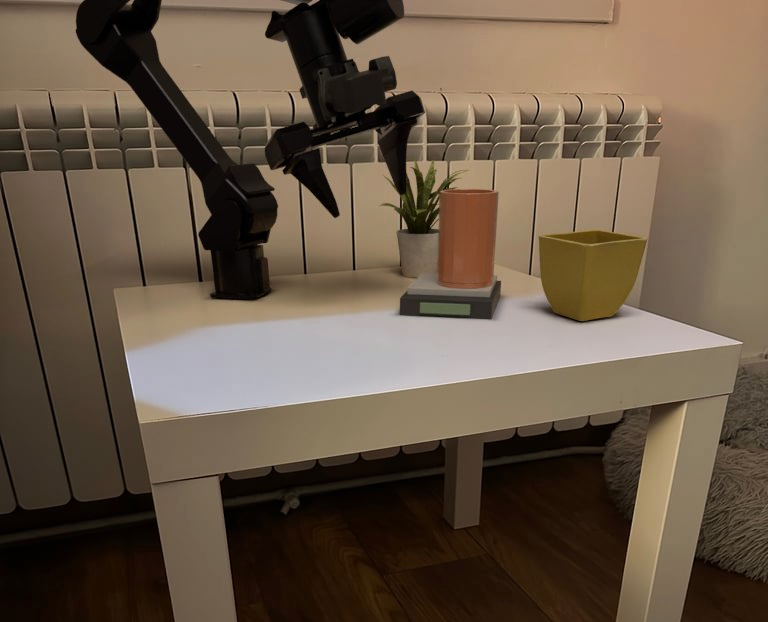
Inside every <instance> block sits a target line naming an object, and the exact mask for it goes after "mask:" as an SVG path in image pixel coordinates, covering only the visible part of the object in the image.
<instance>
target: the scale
mask: <svg viewBox="0 0 768 622" xmlns="http://www.w3.org/2000/svg"><path fill="white" fill-rule="evenodd" d="M437 280H438V278H437V274H432V273H422V274H421V275H420V276H419V277H418V278H415V279H414V280H413V281H412V282H411V284H410V285H408V286H407V287H406V289H407V290H406V291H405V292H404V293H403V294H402V295H401V296H400V297H399V315H400V316H418V317H419V316H420V317H438V318H439V317H440V318H460V319H461V318H462V319H483V320H484V319H485V320H486V319H487V320H491V319H492V318H493V315H494V313H495V310H496V308H497V306H498V303H499V300H500V298H501V290H502V280H498V275H493V283H492V285H491V286H489V287H485V288H477V289H456V288H448V287H443V286H440V285H438V283H437Z"/></svg>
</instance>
